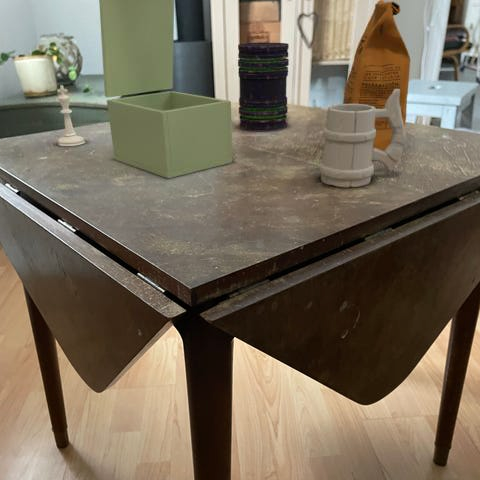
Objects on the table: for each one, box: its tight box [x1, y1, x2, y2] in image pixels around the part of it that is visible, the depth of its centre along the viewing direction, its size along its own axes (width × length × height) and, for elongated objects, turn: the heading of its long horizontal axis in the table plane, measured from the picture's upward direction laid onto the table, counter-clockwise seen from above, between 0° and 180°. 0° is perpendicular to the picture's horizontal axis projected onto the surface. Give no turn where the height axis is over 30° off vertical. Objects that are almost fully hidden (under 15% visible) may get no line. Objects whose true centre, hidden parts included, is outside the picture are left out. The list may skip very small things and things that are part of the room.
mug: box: [318, 89, 407, 188], centre depth 75 cm, size 8×12×12 cm, turn 95°
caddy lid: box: [98, 0, 175, 99], centre depth 85 cm, size 16×13×5 cm
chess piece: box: [56, 84, 86, 147], centre depth 98 cm, size 5×5×10 cm
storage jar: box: [237, 42, 290, 132], centre depth 107 cm, size 10×10×15 cm
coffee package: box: [342, 0, 411, 151], centre depth 86 cm, size 10×12×22 cm
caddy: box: [106, 90, 233, 179], centre depth 86 cm, size 16×13×9 cm
